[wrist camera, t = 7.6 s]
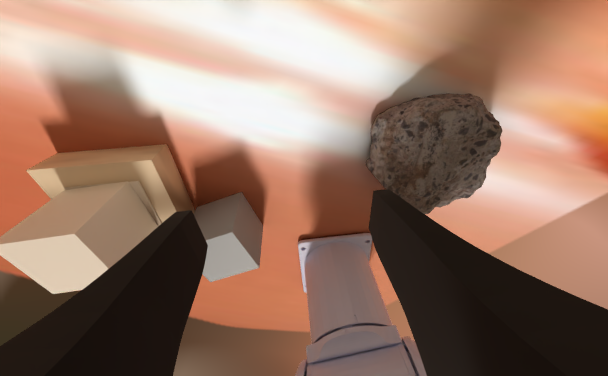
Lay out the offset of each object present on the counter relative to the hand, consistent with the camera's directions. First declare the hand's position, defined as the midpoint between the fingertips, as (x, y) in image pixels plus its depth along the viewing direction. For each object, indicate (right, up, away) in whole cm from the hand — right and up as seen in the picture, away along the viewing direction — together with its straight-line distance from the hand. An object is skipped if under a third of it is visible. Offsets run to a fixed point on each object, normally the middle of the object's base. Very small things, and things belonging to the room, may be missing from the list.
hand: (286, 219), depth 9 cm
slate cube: (-6, -1, +13) cm, 14 cm away
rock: (+11, +5, +11) cm, 16 cm away
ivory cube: (-13, 0, +8) cm, 16 cm away
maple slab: (-13, +1, +10) cm, 17 cm away
